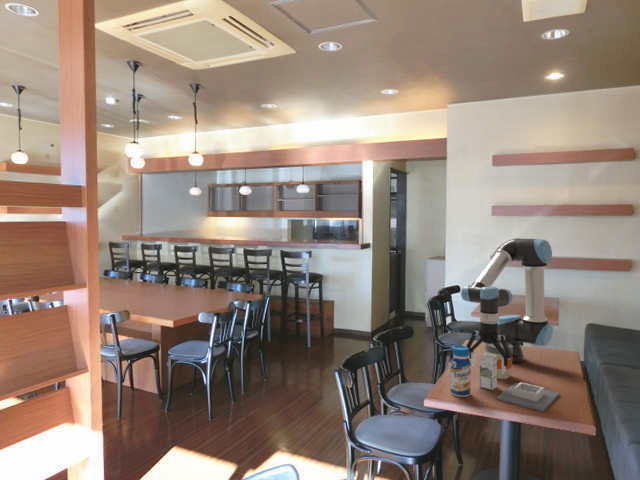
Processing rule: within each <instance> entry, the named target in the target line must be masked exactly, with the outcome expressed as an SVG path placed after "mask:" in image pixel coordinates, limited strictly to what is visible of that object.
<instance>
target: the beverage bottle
mask: <svg viewBox="0 0 640 480" xmlns="http://www.w3.org/2000/svg"><path fill="white" fill-rule="evenodd" d="M452 355H453V356H452V358H451V360H450V365H451V366H450V367H449V368H450V369H449V370H450V394H452V395H453V396H456V397H459V398H466V397H469V396H470V395H471V375H472V369H471V368H472V367H471V359H470V358H469V348H468V347H466V346H465V345H454V346H453V347H452Z"/></svg>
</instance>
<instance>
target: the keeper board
mask: <svg viewBox="0 0 640 480" xmlns="http://www.w3.org/2000/svg"><path fill="white" fill-rule="evenodd" d="M559 396H560V392H557V391H552V390H548V389H545V387H544V386H540V385H535V384H529V383H527V382H526V383H525V382H521V381H520V382H519V383H518V382H514V383H513V384H512V385H510V386H508V388H506V389H505V390H504V391H503V392H501V393H500V394H499V395H497V396H496V400H497V401H500V402H504V403H508V404H513V405H515V406H520V407H523V408H527V409H531V410H535V411H538V412H543V413H544V412H545V411H546V410H547V409H548V408H549V407H550V406H551V405H552V403H554V402H555V400H557V398H558V397H559Z"/></svg>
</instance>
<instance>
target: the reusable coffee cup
mask: <svg viewBox="0 0 640 480" xmlns="http://www.w3.org/2000/svg"><path fill="white" fill-rule="evenodd" d="M498 342H499V341H498ZM499 344H500V345H501V347H502V348H503V349H504V347H503V345H502V343H501V342H499ZM507 344H508V346H509V349H510V351H511V353H513V345H511V344H509V343H507ZM484 347H485V348H484V350H485V353H487V354H492V355H497V379H498V380H506V379H509V378H510V373H511V369H512V365H513V363H512V360H513V357H512V358H508V365H507V366H506V373H504V374H501V372H502V358H503V356H502V355H501V354H500V352H499V351H498V349H497V348H496V347H495V346H494V345H493V343H492V344H489V343H485V346H484ZM504 351H505V350H504Z"/></svg>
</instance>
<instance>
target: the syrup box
mask: <svg viewBox="0 0 640 480" xmlns="http://www.w3.org/2000/svg"><path fill="white" fill-rule="evenodd" d="M497 381H498V380H497V355H492V354H487V353H486V352H484V353H482V354H480V355H479V388H481V389H485V390H489V391H493V390H494V389H496V388H497Z"/></svg>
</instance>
